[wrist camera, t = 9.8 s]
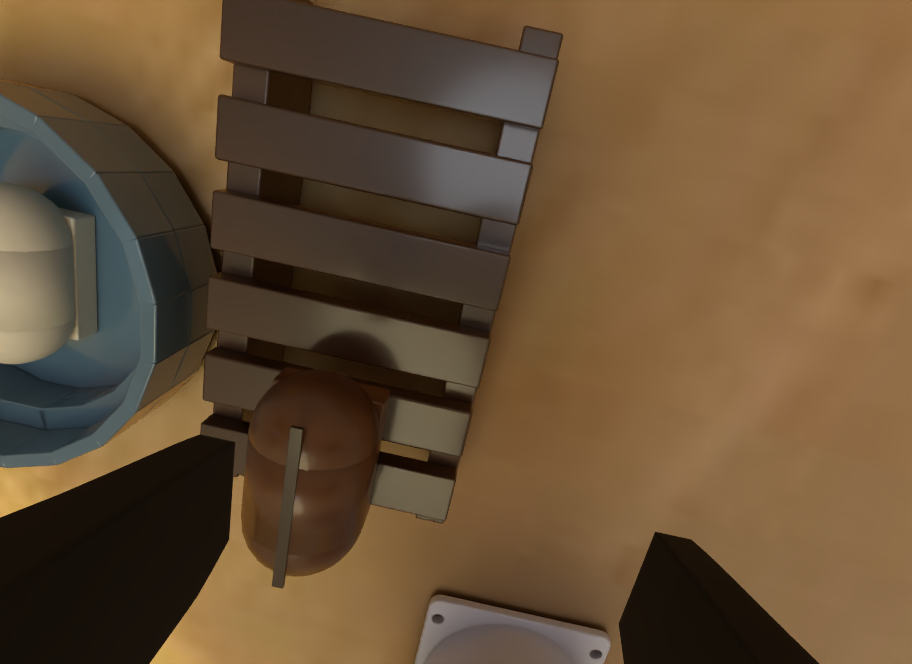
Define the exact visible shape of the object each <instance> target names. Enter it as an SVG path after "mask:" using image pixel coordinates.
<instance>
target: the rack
mask: <svg viewBox="0 0 912 664" xmlns="http://www.w3.org/2000/svg"><path fill="white" fill-rule="evenodd" d="M562 39H563V34H561V33H557V32H553V31H548V30H544V29H539V28H535V27H530V26H525V27H524V28H523V33H522V37H521V42H520V46H519V50H515V49H511V48H506V47H502V46H497V45H492V44H488V43H483V42H479V41H474V40H470V39H465V38H461V37H456V36H452V35H447V34H443V33H438V32H433V31H429V30H424V29H420V28H415V27H411V26H406V25H402V24H397V23H393V22H388V21H384V20H379V19H375V18H370V17H365V16H361V15H356V14H352V13H347V12H343V11H338V10H334V9H329V8H325V7H320V6H316V5H314V4H313V3H312V2H311V1H310V0H223V4H222V23H221V43H220V58H221V59H223V60H225V61H228V62H230V63H233V64H234V70H233V87H232V97H231V96H227V95H219V96H218V109H217V129H216V148H215V157H216V158H217V159H218V160H223V161H227V162H228V172H227V188H226V189H225V190H214V191H213V202H212V221H211V241H210V247H211V248H213V249H218V250H222V251H223V256H222V272H219V273H217V274H214V275H212V276H209V279H208V298H207V318H206V328H209V329H213V330H218V340H217V347H215V348H214V349H212V350H211V351H209V352H207V353H206V354H205V363H204V383H203V400H205V401H210V402H214V408H213V414H212V415H210V416H209V417H208V418H207V419H206V420H205V421H204V422H202V423H201V433H200V435H205V436H210V437H214V438H219V439H224V440H228V441H233V442H235V455H234V470H233V477H238V475H242V476H244V475H245V464H246V452H247V440H248V430H249V425H250V421H251V417H252V414H253V412H254V410H255V407H256V405H257V403H258V402H259V401H260V399H261V398H262V397H263V395H264V394H265V393H266V392H267V390H268V389H270V388H271V387H272V385H273V380H274V378H275V377H276V376H277V375H278V374H280V373H281V372H282V371H283V370H284V369H285V368H286V367H290V368H295V369H299V370H312V369H314V368H309V367H305V366H300V365H296V364H291V363H287V362H283V352H284V345H285V346H290V347H294V348H299V349H303V350H308V351H312V352H317V353H321V354H326V355H330V356H335V357H339V358H344V359H348V360H352V361H357V362H361V363H366V364H370V365H375V366H379V367H384V368H388V369H393V370H397V371H402V372H406V373H411V374H415V375H420V376H424V377H429V378H433V379H438V380H442V381H445V385H444V389H443V394H442V397H439V396H435V395H430V394H426V393H421V392H417V391H412V390H408V389H403V388H399V387H394V386H390V385H386V384H381V383H377V382H372V381H368V380H363V379H359V378H354V377H350V376H347V377H349V378H351V379H352V380H354V381H355V382H357V383H362V384H366V385H371V386H375V387H380V388H384V389H389V390H390V392H391V394H390V399H389V404H388V410H387V415H386V421H385V426H384V431H383V437H382V440H384V441H389V442H393V443H398V444H402V445H407V446H411V447H416V448H420V449H425V450H429V451H430V453H429V457H428V462H425V461H421V460H417V459H412V458H408V457H403V456H399V455H394V454H390V453H385V452H381V451H380V453H379V459H378V464H377V469H376V475H375V480H374V486H373V491H372V497H371V502H370V504H372V505H376V506H380V507H385V508H389V509H394V510H398V511H403V512H407V513H412V514H416V518H419V519H424V520H428V521H433V522H437V523H444V521H445V520H446V519H447V515H448V511H449V507H450V503H451V498H452V494H453V490H454V486H455V482H456V475H457V468H458V464H459V460H460V457H461V456H462V453H463V449H464V445H465V441H466V437H467V433H468V429H469V425H470V421H471V417H472V410H473V402H474V398H475V394H476V390H477V388H478V387H479V385H480V381H481V377H482V372H483V368H484V364H485V360H486V356H487V352H488V348H489V344H490V336H491V334H490V333H491V329H492V325H493V321H494V317H495V313H496V311H497V310H498V307H499V303H500V299H501V295H502V291H503V287H504V283H505V279H506V275H507V271H508V267H509V263H510V259H511V258H510V251H511V247H512V243H513V239H514V235H515V231H516V227H517V225H518V224H519V222H520V218H521V214H522V210H523V206H524V202H525V198H526V193H527V189H528V185H529V181H530V177H531V173H532V169H533V164H532V162H533V157H534V153H535V149H536V145H537V141H538V137H539V133H540V130H541V129H542V128H543V125H544V121H545V117H546V112H547V108H548V104H549V100H550V96H551V92H552V88H553V84H554V80H555V76H556V72H557V68H558V64H559V60H558V55H559V51H560V47H561V43H562ZM312 81H313V82H318V83H322V84H327V85H331V86H336V87H340V88H345V89H349V90H354V91H358V92H363V93H368V94H372V95H377V96H381V97H386V98H390V99H395V100H399V101H404V102H408V103H413V104H417V105H422V106H426V107H431V108H435V109H440V110H444V111H449V112H453V113H458V114H463V115H467V116H472V117H476V118H481V119H485V120H490V121H494V122H499V123H502V128H501V132H500V137H499V141H498V146H497V150H496V155H494V154H489V153H485V152H480V151H476V150H471V149H466V148H462V147H457V146H453V145H448V144H444V143H439V142H435V141H430V140H426V139H421V138H417V137H412V136H408V135H403V134H399V133H394V132H390V131H385V130H381V129H376V128H372V127H367V126H363V125H358V124H353V123H349V122H344V121H340V120H335V119H331V118H326V117H322V116H317V115H313V114H309V105H310V96H311V86H312ZM302 178H304V179H308V180H313V181H317V182H322V183H326V184H331V185H335V186H340V187H344V188H349V189H354V190H358V191H363V192H367V193H372V194H376V195H381V196H385V197H390V198H394V199H399V200H403V201H408V202H412V203H417V204H421V205H426V206H430V207H435V208H439V209H444V210H448V211H453V212H457V213H462V214H466V215H471V216H475V217H480V218H481V222H480V227H479V231H478V236H477V240H476V245H475V244H470V243H466V242H461V241H457V240H452V239H448V238H443V237H439V236H434V235H430V234H425V233H421V232H416V231H412V230H407V229H403V228H398V227H394V226H389V225H385V224H380V223H376V222H371V221H367V220H362V219H358V218H353V217H349V216H344V215H340V214H335V213H331V212H326V211H322V210H317V209H313V208H308V207H304V206H299V200H300V191H301V181H302ZM293 266H294V267H299V268H303V269H308V270H312V271H317V272H321V273H326V274H330V275H335V276H339V277H344V278H348V279H353V280H357V281H362V282H366V283H371V284H375V285H380V286H384V287H389V288H393V289H398V290H402V291H407V292H411V293H416V294H420V295H425V296H429V297H434V298H438V299H443V300H447V301H451V302H456V303H460V304H462V308H461V313H460V317H459V322H458V325H457V324H453V323H448V322H444V321H439V320H435V319H430V318H426V317H421V316H417V315H412V314H408V313H403V312H399V311H394V310H390V309H385V308H381V307H376V306H372V305H367V304H363V303H358V302H354V301H349V300H345V299H340V298H336V297H331V296H327V295H322V294H318V293H313V292H309V291H304V290H300V289H295V288H291V287H290V286H291V276H292V267H293Z"/></svg>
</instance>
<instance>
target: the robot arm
mask: <svg viewBox="0 0 912 664" xmlns="http://www.w3.org/2000/svg"><path fill="white" fill-rule="evenodd" d="M234 455H235V442H233V441H228V440H224V439H219V438H214V437H210V436H205V435H197V436H195V437H192V438H189V439H187V440H184V441H182V442H179V443H177V444H175V445H172V446H170V447H168V448H165V449H163V450H161V451H158V452H156V453H154V454H151V455H149V456H147V457H145V458H142V459H140V460H138V461H135V462H133V463H131V464H129V465H126V466H124V467H122V468H120V469H117V470H115V471H113V472H110V473H108V474H106V475H103V476H101V477H99V478H96V479H94V480H92V481H89V482H87V483H85V484H82V485H80V486H78V487H76V488H73V489H71V490H69V491H66V492H64V493H61V494H59V495H57V496H54V497H52V498H49V499H46V500H44V501H41V502H39V503H36V504H34V505H31V506H29V507H26V508H24V509H21V510H19V511H16V512H14V513H11V514H9V515H6V516H3V517H1V518H0V664H149V663H150V662H151V660H152V659H153V658H154V656H155V655H156V654H157V652H158V651H159V649H160V648H161V647H162V645H163V644H164V642H165V641H166V640H167V638H168V637H169V635H170V634H171V633H172V631H173V630H174V629H175V627H176V626H177V624H178V623H179V622H180V620H181V619H182V617H183V616H184V615H185V613H186V612H187V610H188V609H189V607H190V606H191V605H192V603H193V602H194V600H195V599H196V597H197V596H198V594H199V592H200V591H201V589H202V587H203V585H204V584H205V582H206V580H207V578H208V577H209V575H210V573H211V572H212V570H213V568H214V566H215V564H216V562H217V561H218V559H219V557H220V555H221V553H222V551H223V550H224V548H225V546H226V544H227V542H228V540H229V532H230V516H231V501H232V485H233V470H234ZM435 614H439V615H442V616H437V615H435ZM619 629H620V637H621V644H622V652H623V659H624V664H819V663H818V662H817V661H816V660H815V659H814V658H813V657H812V656H811V655H810V654H809V653H808V652H807V651H806V650H805V649H804V648H803V647H802V646H801V645H800V644H799V643H798V642H796V641H795V640H794V639H793V638H792V637H791V636H790V635H789V634H788V633H787V632H786V631H785V630H784V629H783V628H782V627H781V626H780V625H779V624H778V623H777V622H776V621H775V620H774V619H773V618H772V617H771V616H770V615H769V614H768V613H767V612H766V611H765V610H764V609H763V608H762V607H761V606H760V605H759V604H758V603H757V602H756V601H755V600H754V599H753V598H752V597H751V596H750V595H749V594H748V593H747V592H746V591H745V590H744V589H743V588H742V587H741V586H740V585H739V584H738V583H737V582H736V581H735V580H734V579H733V578H732V577H731V576H730V575H729V574H728V573H727V572H726V571H725V570H724V569H723V568H722V567H721V566H720V565H719V564H718V563H716V562H715V561H714V560H713V559H712V558H711V557H710V556H709V555H708V554H707V553H706V552H705V551H704V550H703V549H701V548H700V547H699V546H698V545H697V544H696V543H695V542H693V541H692V540H691V539H686V538H682V537H677V536H672V535H668V534H663V533H658V532H655V534H654V536H653V539H652V541H651V544H650V546H649V549H648V551H647V554H646V556H645V559H644V561H643V564H642V566H641V569H640V571H639V574H638V576H637V579H636V581H635V584H634V587H633V589H632V592H631V594H630V597H629V599H628V602H627V604H626V607H625V609H624V612H623V614H622V617H621V619H620V622H619ZM610 646H611V643H610V639H609V636H608V634H607V633H606V632H604V631H601V630H597V629H593V628H588V627H584V626H580V625H575V624H571V623H566V622H562V621H557V620H553V619H548V618H544V617H539V616H535V615H531V614H526V613H522V612H517V611H513V610H508V609H504V608H499V607H495V606H490V605H486V604H481V603H477V602H473V601H468V600H464V599H459V598H455V597H450V596H446V595H435V596H433V597H432V598H431V600H430V602H429V606H428V610H427V614H426V618H425V622H424V626H423V630H422V634H421V638H420V642H419V646H418V650H417V654H416V658H415V662H414V664H604V661H605V659H606V657H607V654H608V652H609V649H610ZM593 650H596V651H593Z"/></svg>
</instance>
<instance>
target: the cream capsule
mask: <svg viewBox="0 0 912 664" xmlns="http://www.w3.org/2000/svg"><path fill="white" fill-rule="evenodd" d="M97 331H98V326H97V282H96V238H95V216H93V215H90V214H85V213H81V212H76V211H72V210H67V209H63V208H58V207H57V206H56V205H55V204H54V203H53V202H52V201H51V200H49V199H48V198H46V197H45V196H44V195H42V194H40V193H38V192H36V191H34V190H32V189H29V188H26V187H23V186H20V185H16V184H12V183H5V182H0V363H2V364H22V363H28V362H32V361H36V360H39V359H42V358H45V357H47V356H49V355H50V354H52V353H54V352H56V351H57V350H58V349H60V348H61V347H62V346H63V345H64V344H65V343H66V342H67V341H68V339H73V340H80V339H83V338H85V337H88V336H90V335H92V334H95V333H97Z"/></svg>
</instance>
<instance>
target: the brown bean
mask: <svg viewBox="0 0 912 664" xmlns="http://www.w3.org/2000/svg"><path fill="white" fill-rule="evenodd" d="M390 394H391V392H390V390H389V389H384V388H380V387H375V386H371V385H366V384H362V383H357V382H355V381H354V380H352V379H351V378H349V377H347V376H346V375H343V374H340V373H338V372H335V371H331V370H325V369H312V370H299V369H295V368H290V367H286V368H285V369H284V370H283V371H282V372H281V373H280V374H278V375H277V376H276V377H275V378H274V380H273V385H272V387H271V388H270V389H268V390H267V392H266V393H265V394H264V395H263V397H262V398H261V399H260V401H259V402H258V403H257V405H256V407H255V410H254V412H253V414H252V417H251V421H250V425H249V430H248V440H247V452H246V464H245V475H244V487H243V499H242V510H241V520H242V532H243V535H244V538H245V541H246V544H247V546H248V548H249V550H250V551H251V552H252V554H253V555H254V556H255V558H256V559H257V560H258V561H259V562H260V563H261V564H263V565H264V566H265V567H267V568H269V569H271V570H273V571H274V572H273V581H272V586H273V587H278V588H282V589H283V587H284V584H285V576H286V575H288V576H307V575H312V574H315V573H318V572H321V571H324V570H326V569H328V568H330V567H331V566H333V565H335V564H336V563H337V562H339V561H340V560H341V559H342V558H343V557H344V556H345V555H346V554H347V553H348V552H349V551H350V550H351V548H352V547H353V545H354V544H355V542H356V540H357V539H358V537H359V535H360V533H361V530H362V528H363V525H364V522H365V519H366V517H367V514H368V511H369V507H370V502H371V497H372V491H373V486H374V480H375V475H376V469H377V464H378V459H379V453H380V448H381V442H382V437H383V431H384V426H385V421H386V415H387V410H388V404H389V399H390Z"/></svg>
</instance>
